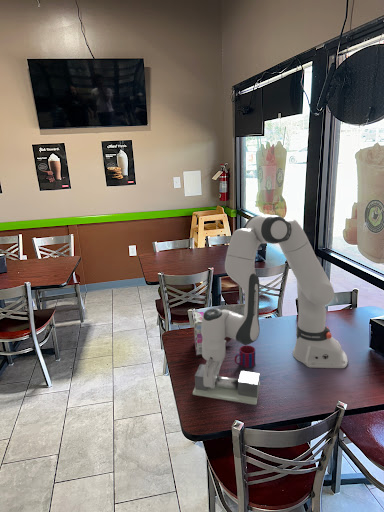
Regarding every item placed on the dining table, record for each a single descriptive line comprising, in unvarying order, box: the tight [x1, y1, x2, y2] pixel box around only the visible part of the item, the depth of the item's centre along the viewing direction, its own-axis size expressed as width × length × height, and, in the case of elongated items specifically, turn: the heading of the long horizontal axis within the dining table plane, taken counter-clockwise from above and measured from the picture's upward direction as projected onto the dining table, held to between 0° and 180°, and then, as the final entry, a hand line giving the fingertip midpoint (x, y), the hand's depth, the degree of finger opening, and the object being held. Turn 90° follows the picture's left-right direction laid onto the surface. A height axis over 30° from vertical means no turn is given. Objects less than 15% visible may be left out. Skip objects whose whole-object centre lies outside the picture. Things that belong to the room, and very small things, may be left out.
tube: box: [215, 375, 239, 390], centre depth 138 cm, size 15×4×4 cm, turn 74°
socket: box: [194, 363, 207, 391], centre depth 139 cm, size 4×8×6 cm, turn 164°
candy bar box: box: [193, 311, 204, 356], centre depth 164 cm, size 11×5×16 cm, turn 3°
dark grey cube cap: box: [238, 370, 260, 399], centre depth 134 cm, size 7×7×6 cm
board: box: [192, 381, 261, 406], centre depth 138 cm, size 24×12×1 cm, turn 74°
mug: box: [234, 344, 256, 369], centre depth 152 cm, size 7×10×7 cm
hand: (214, 382), depth 138 cm, fingers open, 5 cm apart
